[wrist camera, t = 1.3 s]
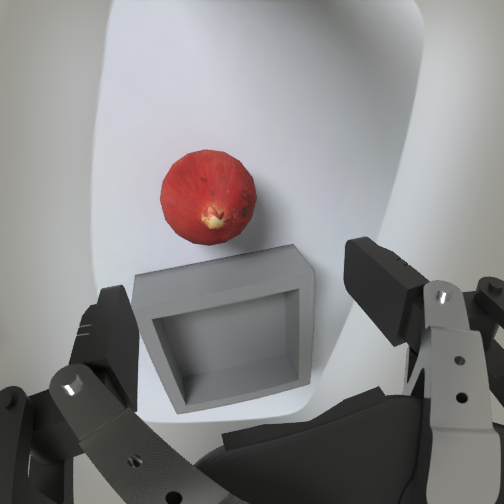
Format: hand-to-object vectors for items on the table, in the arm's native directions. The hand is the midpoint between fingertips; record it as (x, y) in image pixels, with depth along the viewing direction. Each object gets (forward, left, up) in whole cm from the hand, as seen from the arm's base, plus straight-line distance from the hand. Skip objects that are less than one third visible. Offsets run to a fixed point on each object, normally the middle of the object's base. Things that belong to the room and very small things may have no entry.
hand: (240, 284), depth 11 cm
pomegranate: (0, 0, -14) cm, 14 cm away
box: (+13, 0, -13) cm, 18 cm away
